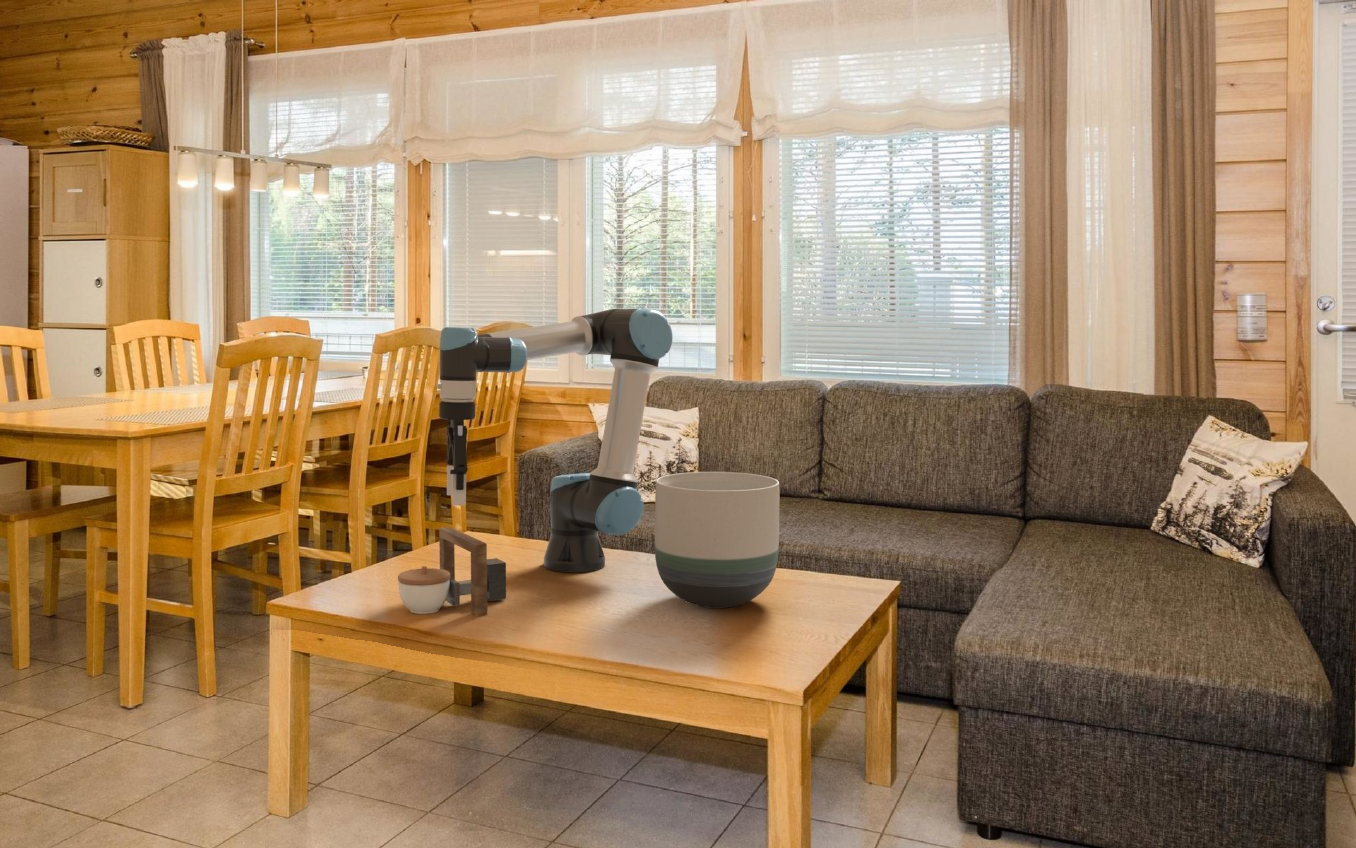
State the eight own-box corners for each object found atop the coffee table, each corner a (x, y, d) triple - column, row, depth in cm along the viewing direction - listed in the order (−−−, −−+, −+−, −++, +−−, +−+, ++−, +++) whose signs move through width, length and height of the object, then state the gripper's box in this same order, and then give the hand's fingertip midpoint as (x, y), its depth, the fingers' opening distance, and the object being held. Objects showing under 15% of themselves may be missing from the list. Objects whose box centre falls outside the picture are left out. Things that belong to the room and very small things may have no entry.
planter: (790, 593, 245) (792, 475, 242) (759, 626, 219) (761, 494, 217) (678, 583, 253) (679, 468, 251) (636, 612, 228) (636, 486, 225)
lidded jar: (440, 618, 223) (439, 573, 222) (390, 616, 224) (389, 571, 223) (457, 604, 233) (457, 561, 232) (409, 602, 235) (409, 559, 234)
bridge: (450, 592, 243) (450, 526, 241) (487, 614, 226) (486, 543, 224) (440, 594, 241) (439, 527, 240) (475, 616, 224) (475, 545, 223)
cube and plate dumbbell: (493, 591, 242) (492, 556, 241) (509, 600, 235) (509, 564, 234) (439, 599, 235) (439, 563, 235) (455, 608, 228) (454, 571, 227)
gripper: (435, 396, 239) (433, 491, 241) (444, 404, 216) (442, 509, 217) (469, 396, 242) (468, 491, 243) (482, 404, 218) (480, 509, 220)
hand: (456, 500), depth 230 cm, fingers open, 13 cm apart
